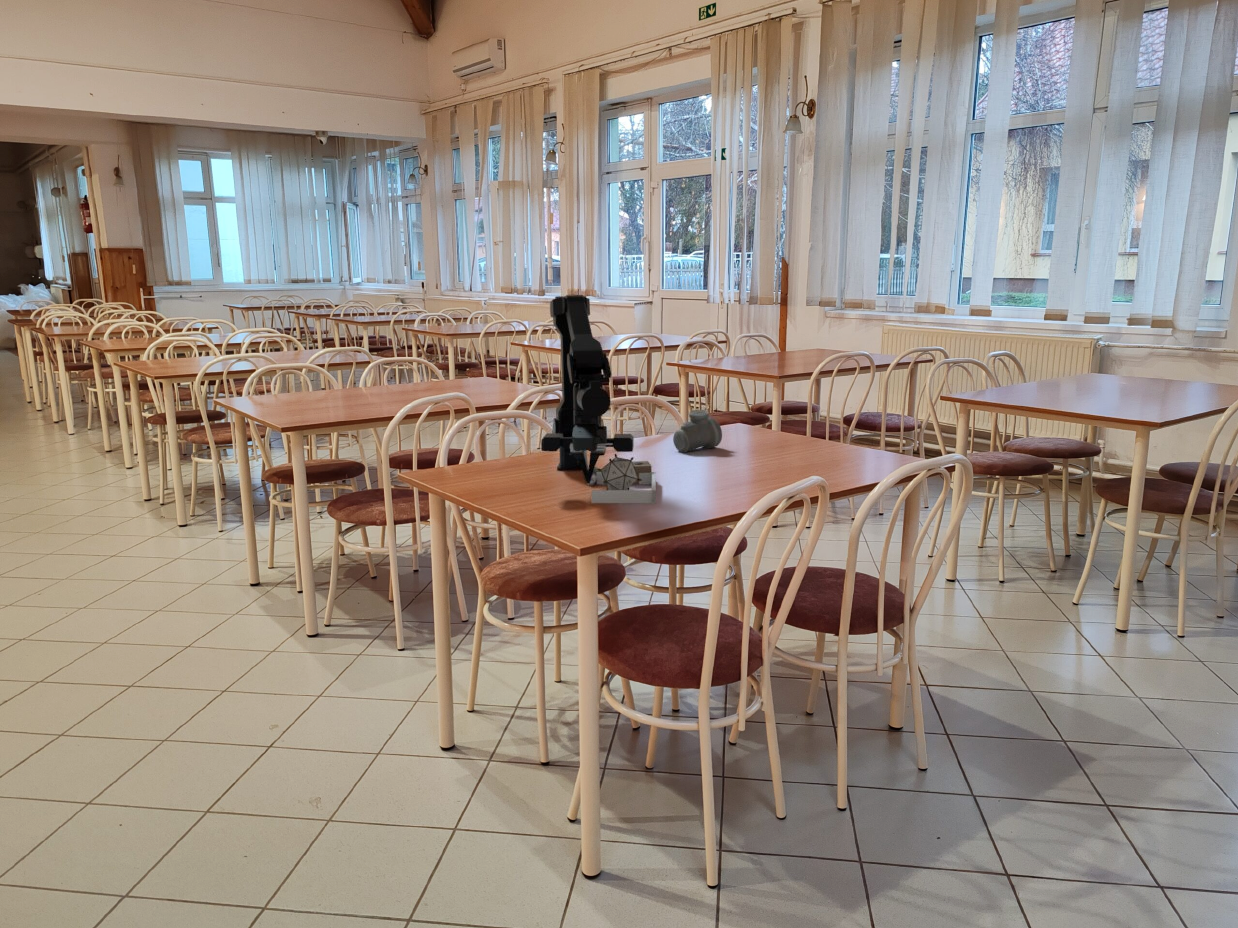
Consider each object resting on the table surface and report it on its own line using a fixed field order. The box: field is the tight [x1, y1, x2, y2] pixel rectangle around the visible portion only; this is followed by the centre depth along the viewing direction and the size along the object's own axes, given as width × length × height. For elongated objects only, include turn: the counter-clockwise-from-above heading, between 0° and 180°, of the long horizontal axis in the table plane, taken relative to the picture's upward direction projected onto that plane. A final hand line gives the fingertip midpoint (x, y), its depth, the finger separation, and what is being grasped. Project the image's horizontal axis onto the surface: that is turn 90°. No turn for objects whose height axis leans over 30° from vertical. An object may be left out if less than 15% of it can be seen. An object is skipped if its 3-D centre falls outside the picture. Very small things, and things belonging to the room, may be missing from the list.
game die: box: [597, 453, 642, 490], centre depth 180 cm, size 9×8×10 cm
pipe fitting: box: [672, 409, 723, 453], centre depth 224 cm, size 12×8×10 cm
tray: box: [590, 471, 657, 504], centre depth 181 cm, size 17×13×2 cm
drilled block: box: [632, 460, 653, 485], centre depth 191 cm, size 5×5×4 cm
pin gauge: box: [588, 466, 601, 487], centre depth 191 cm, size 8×2×2 cm, turn 178°
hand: (588, 483), depth 181 cm, fingers closed
